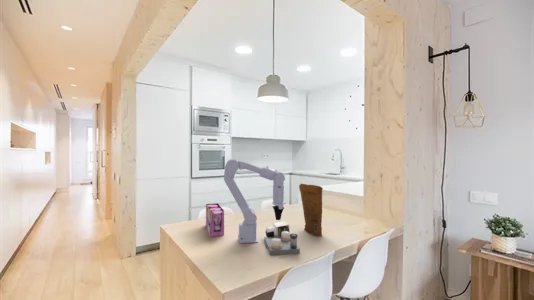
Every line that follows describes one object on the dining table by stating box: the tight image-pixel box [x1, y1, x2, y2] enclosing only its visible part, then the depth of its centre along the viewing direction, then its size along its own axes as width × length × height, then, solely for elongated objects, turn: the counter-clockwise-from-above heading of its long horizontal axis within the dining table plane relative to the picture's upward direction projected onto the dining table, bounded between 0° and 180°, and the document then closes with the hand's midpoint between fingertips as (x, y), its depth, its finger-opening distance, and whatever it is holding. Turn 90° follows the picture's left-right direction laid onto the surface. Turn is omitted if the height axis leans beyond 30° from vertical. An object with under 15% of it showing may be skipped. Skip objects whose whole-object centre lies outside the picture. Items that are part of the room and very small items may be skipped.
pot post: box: [290, 233, 298, 249], centre depth 123 cm, size 4×4×6 cm
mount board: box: [263, 236, 301, 256], centre depth 129 cm, size 14×18×2 cm
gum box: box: [205, 202, 225, 238], centre depth 154 cm, size 24×8×14 cm, turn 19°
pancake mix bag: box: [298, 183, 323, 237], centre depth 152 cm, size 7×19×28 cm, turn 27°
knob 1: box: [271, 238, 281, 248], centre depth 124 cm, size 4×4×3 cm
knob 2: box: [281, 231, 291, 240], centre depth 135 cm, size 4×4×3 cm
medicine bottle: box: [265, 221, 291, 237], centre depth 142 cm, size 7×7×12 cm
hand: (278, 219), depth 140 cm, fingers closed
